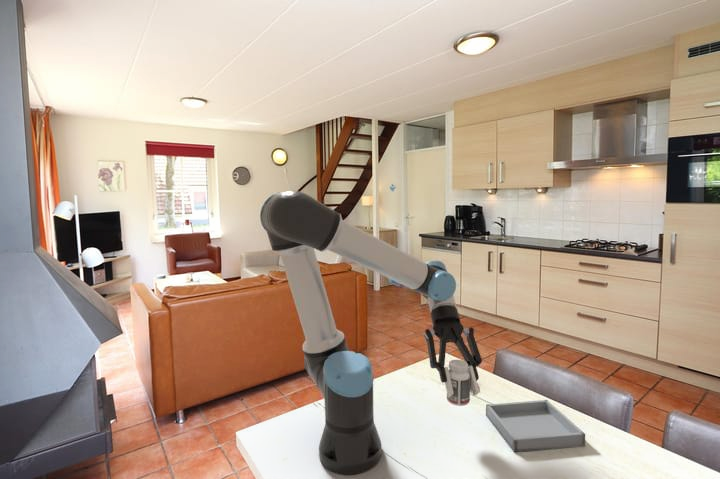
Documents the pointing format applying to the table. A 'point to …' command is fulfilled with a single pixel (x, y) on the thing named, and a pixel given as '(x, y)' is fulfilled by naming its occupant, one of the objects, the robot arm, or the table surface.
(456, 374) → the pill bottle
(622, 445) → the table surface
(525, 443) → the tray
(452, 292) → the robot arm
